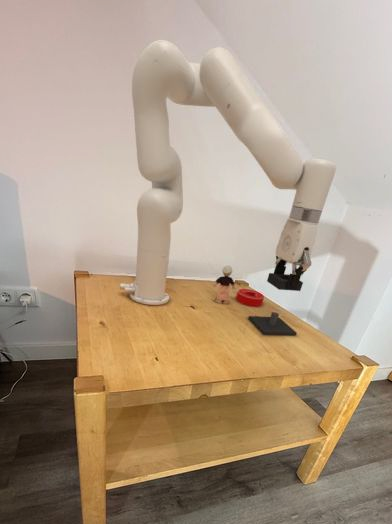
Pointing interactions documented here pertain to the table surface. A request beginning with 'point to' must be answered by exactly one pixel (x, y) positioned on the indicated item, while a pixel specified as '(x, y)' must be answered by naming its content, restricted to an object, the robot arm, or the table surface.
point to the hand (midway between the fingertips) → (284, 283)
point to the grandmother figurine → (224, 285)
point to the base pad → (272, 325)
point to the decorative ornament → (250, 297)
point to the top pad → (281, 281)
